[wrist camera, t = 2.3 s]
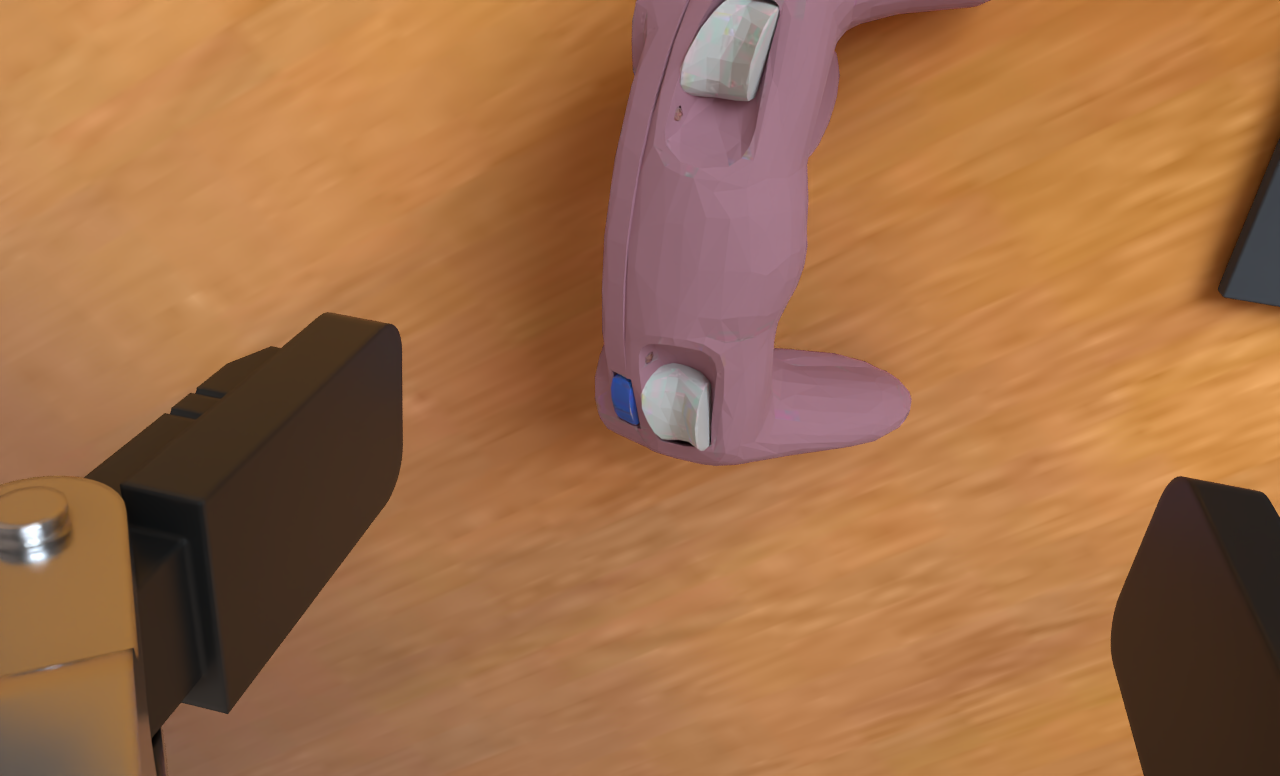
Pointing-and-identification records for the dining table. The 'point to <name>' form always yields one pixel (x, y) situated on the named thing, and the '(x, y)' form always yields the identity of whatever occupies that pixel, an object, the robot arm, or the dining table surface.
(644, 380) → the video game controller
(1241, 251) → the felt mat
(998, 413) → the dining table surface
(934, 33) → the dining table surface
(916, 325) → the dining table surface
